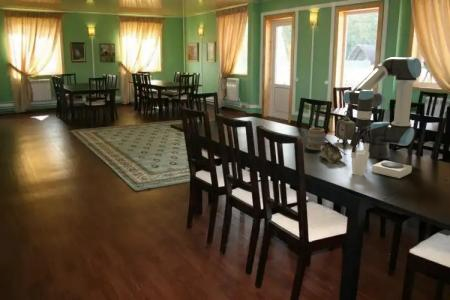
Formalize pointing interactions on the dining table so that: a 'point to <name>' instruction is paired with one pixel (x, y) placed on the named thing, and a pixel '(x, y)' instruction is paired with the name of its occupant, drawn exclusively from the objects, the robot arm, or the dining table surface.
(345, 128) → the tabletop clock
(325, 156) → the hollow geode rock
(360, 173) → the foam cup
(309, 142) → the tankard
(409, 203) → the dining table surface
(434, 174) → the dining table surface
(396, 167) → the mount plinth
